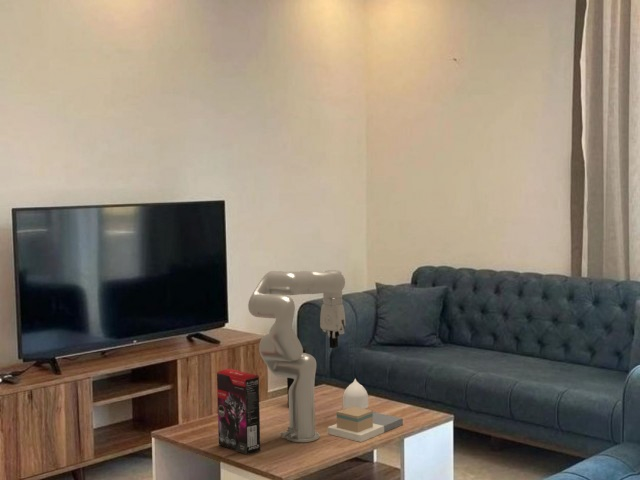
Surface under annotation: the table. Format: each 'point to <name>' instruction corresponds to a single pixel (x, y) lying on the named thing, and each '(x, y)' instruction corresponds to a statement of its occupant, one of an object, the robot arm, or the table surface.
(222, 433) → the graphics card box
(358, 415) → the carton
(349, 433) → the grey and cream slab
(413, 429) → the table surface
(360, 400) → the teardrop
